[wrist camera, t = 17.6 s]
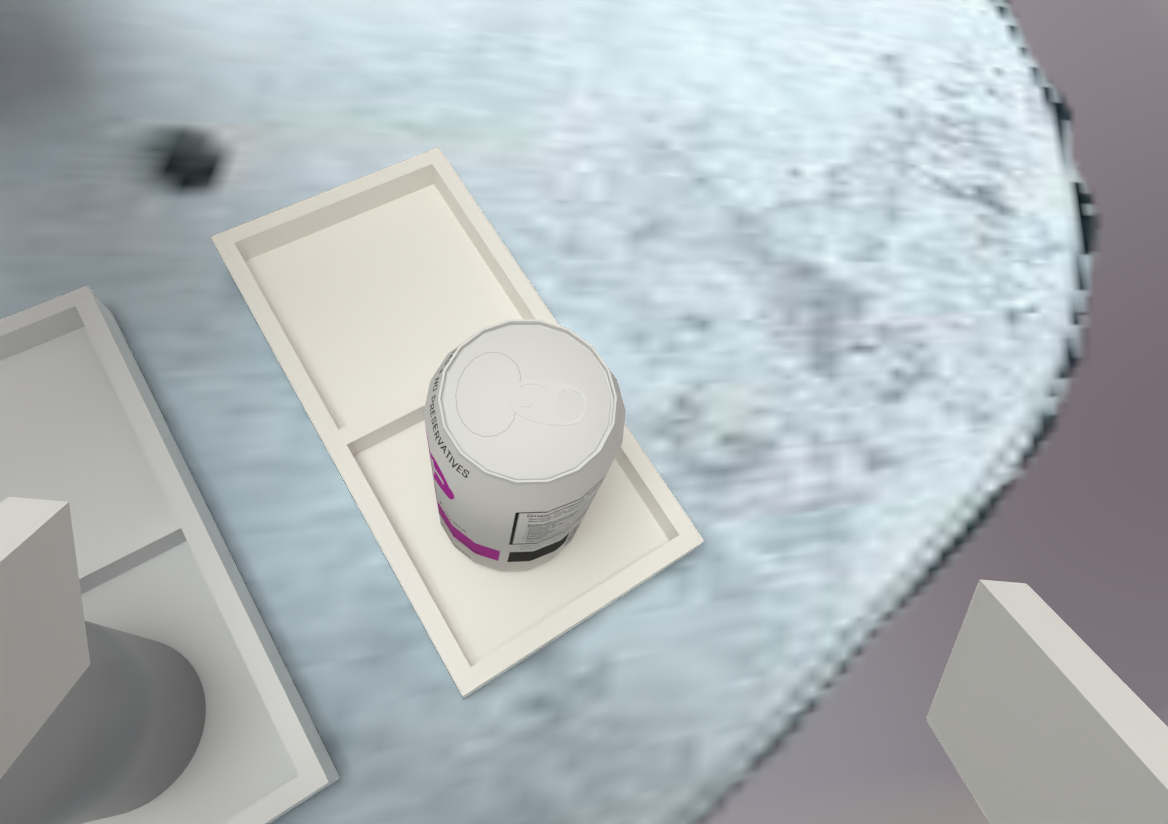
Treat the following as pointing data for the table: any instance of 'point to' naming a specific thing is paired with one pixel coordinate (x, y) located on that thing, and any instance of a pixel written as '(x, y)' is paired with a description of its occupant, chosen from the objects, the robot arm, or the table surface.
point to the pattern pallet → (141, 604)
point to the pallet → (398, 395)
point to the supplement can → (520, 440)
